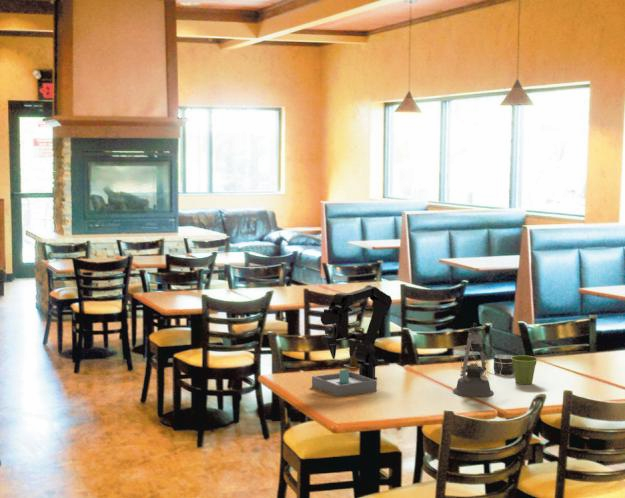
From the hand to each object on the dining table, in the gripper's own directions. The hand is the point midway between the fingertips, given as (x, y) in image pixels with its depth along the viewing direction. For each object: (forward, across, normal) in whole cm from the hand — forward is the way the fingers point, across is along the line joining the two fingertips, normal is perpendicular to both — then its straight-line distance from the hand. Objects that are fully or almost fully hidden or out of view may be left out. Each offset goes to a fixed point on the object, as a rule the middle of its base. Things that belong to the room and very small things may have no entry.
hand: (342, 357), depth 428 cm
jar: (+14, -78, +22) cm, 82 cm away
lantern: (+13, -38, +44) cm, 60 cm away
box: (+12, +5, +8) cm, 15 cm away
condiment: (+13, -26, -26) cm, 40 cm away
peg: (+12, +5, +8) cm, 15 cm away
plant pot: (+13, -70, +41) cm, 82 cm away
